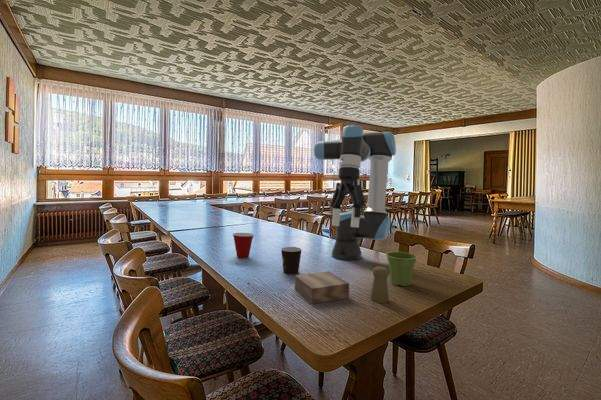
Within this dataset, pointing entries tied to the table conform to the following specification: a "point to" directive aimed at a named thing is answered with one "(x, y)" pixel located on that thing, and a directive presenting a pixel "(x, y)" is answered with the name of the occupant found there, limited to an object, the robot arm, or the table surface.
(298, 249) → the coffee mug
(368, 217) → the robot arm
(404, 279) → the plant pot
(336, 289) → the walnut pedestal
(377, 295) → the pepper mill
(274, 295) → the table surface
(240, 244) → the plastic cup
